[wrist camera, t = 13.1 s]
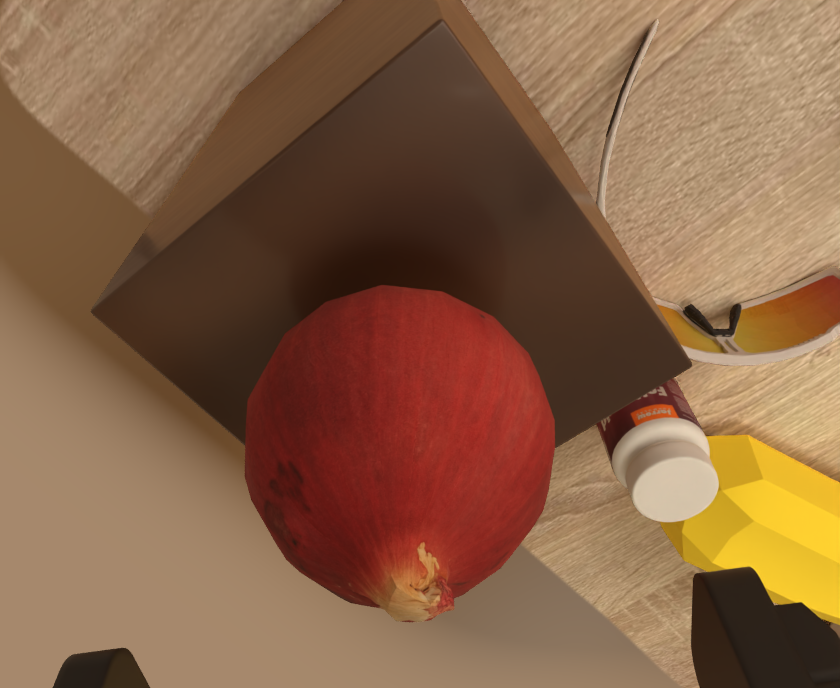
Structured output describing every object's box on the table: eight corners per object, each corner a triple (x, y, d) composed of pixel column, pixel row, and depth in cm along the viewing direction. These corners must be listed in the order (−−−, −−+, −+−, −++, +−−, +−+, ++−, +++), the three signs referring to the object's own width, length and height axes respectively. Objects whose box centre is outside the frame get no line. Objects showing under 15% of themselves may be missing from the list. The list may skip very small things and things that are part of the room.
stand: (237, 94, 35) (87, 312, 18) (416, -64, 32) (442, 16, 15) (382, 255, 39) (373, 558, 22) (551, 129, 36) (694, 366, 19)
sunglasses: (568, 330, 41) (589, 370, 37) (593, 18, 36) (623, 19, 31) (835, 327, 42) (890, 367, 37) (903, 19, 36) (978, 20, 31)
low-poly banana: (695, 398, 44) (614, 491, 47) (741, 477, 38) (644, 577, 42) (923, 509, 49) (835, 586, 52) (994, 594, 43) (889, 675, 47)
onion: (389, 476, 20) (386, 783, 14) (219, 333, 18) (113, 616, 11) (572, 346, 19) (675, 626, 12) (408, 169, 16) (419, 389, 9)
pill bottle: (643, 336, 42) (694, 433, 35) (689, 392, 44) (746, 494, 37) (569, 385, 43) (604, 488, 36) (616, 437, 45) (658, 544, 38)
